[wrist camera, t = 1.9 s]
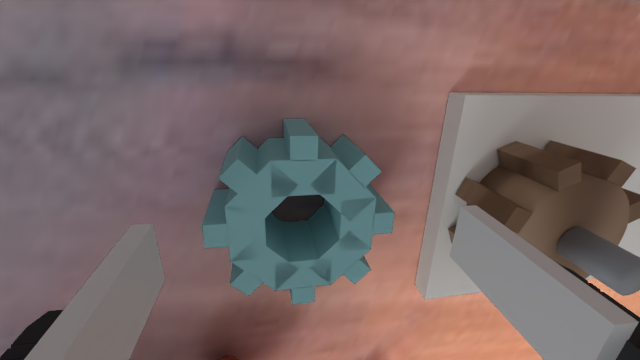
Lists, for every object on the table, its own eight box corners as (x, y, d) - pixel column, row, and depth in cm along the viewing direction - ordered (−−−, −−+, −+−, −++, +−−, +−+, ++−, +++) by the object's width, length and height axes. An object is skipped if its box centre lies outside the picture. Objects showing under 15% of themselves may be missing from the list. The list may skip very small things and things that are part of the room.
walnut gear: (439, 270, 20) (477, 315, 17) (466, 142, 17) (521, 164, 13) (549, 258, 22) (606, 297, 18) (594, 139, 18) (674, 157, 15)
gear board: (414, 284, 22) (495, 403, 15) (449, 92, 17) (603, 119, 10) (644, 258, 26) (803, 340, 19) (729, 94, 21) (999, 114, 13)
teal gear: (223, 264, 19) (214, 313, 15) (206, 119, 15) (189, 138, 12) (361, 251, 20) (383, 293, 17) (374, 117, 17) (405, 134, 13)
